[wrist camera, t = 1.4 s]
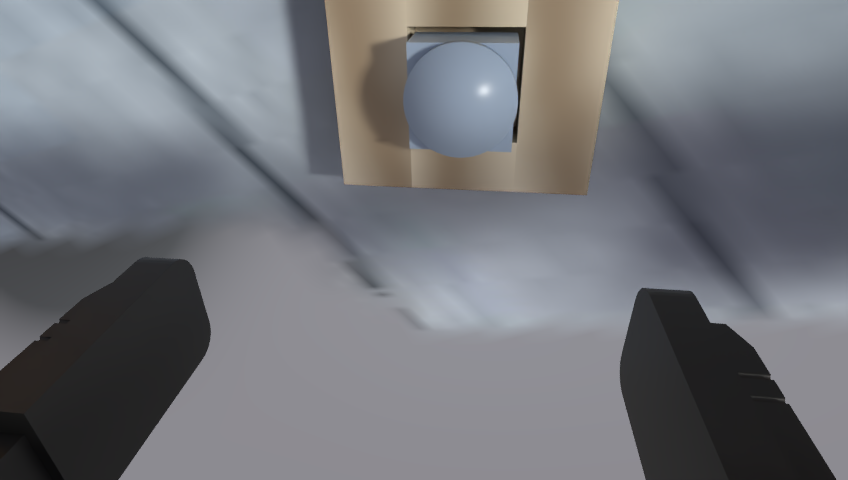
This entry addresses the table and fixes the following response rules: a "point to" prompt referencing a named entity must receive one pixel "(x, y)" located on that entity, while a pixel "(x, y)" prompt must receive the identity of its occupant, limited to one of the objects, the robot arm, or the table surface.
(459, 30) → the button panel
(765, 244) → the table surface
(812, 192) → the table surface
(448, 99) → the slate button
